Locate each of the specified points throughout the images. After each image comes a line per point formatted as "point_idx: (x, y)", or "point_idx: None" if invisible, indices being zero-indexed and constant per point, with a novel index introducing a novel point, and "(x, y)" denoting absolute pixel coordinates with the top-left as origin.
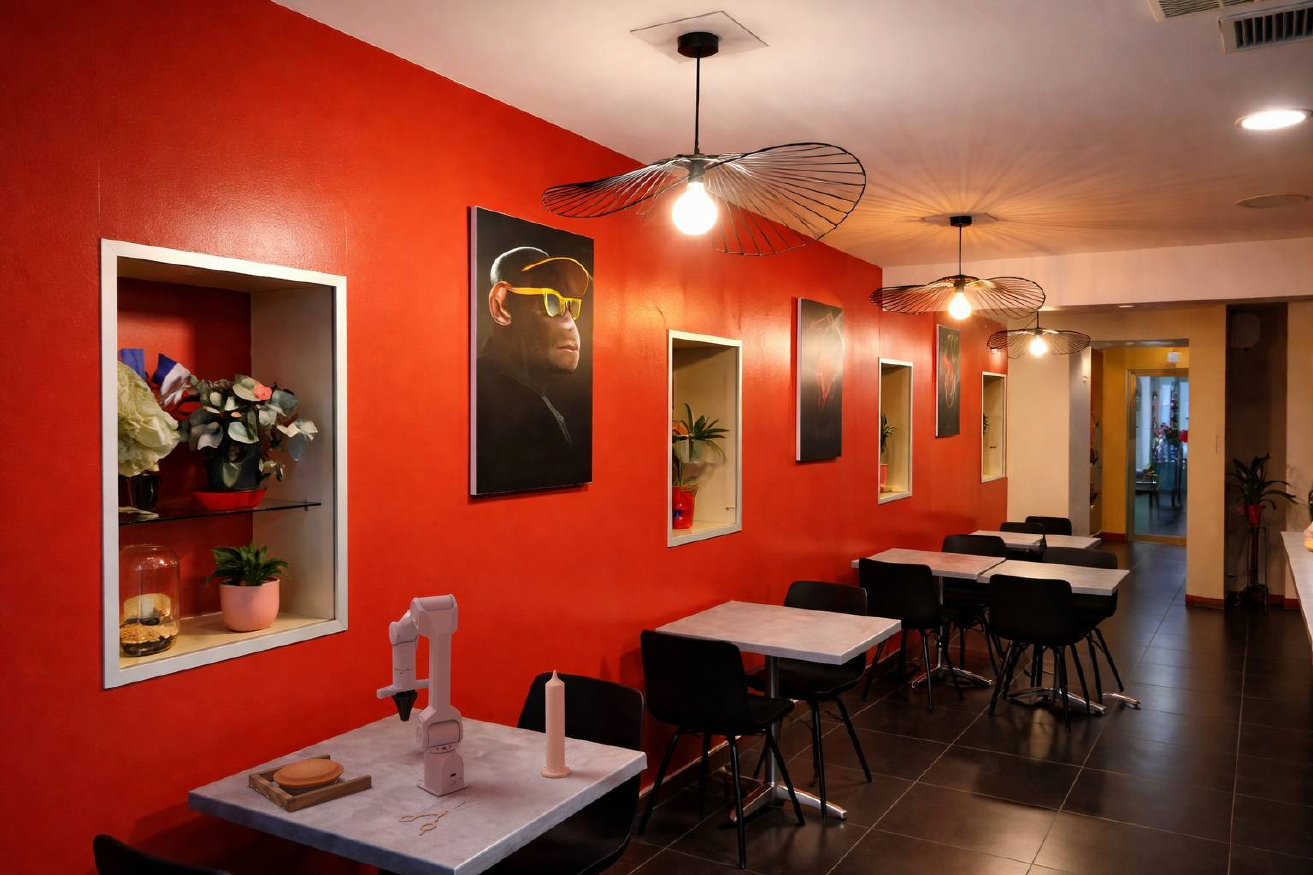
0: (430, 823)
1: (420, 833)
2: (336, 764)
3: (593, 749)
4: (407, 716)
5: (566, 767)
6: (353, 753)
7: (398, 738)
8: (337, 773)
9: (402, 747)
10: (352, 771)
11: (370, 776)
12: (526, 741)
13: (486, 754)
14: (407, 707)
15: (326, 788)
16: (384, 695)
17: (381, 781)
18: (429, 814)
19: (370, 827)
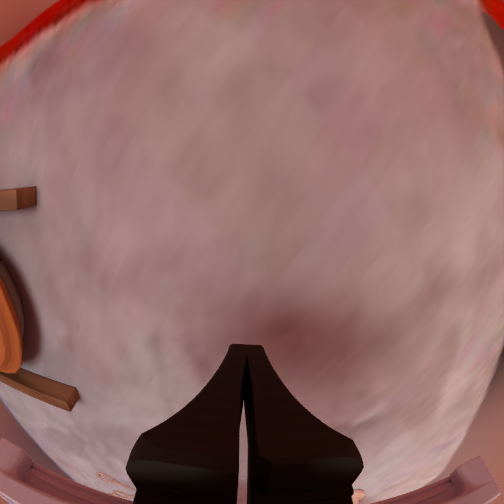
0: (125, 495)
1: (110, 494)
2: (4, 347)
3: (440, 459)
4: (244, 403)
5: (358, 499)
6: (117, 148)
7: (329, 124)
8: (11, 369)
9: (277, 227)
10: (62, 296)
11: (69, 410)
12: (455, 400)
13: (367, 423)
14: (249, 439)
15: (5, 380)
16: (47, 485)
17: (102, 394)
18: (132, 489)
19: (65, 459)
